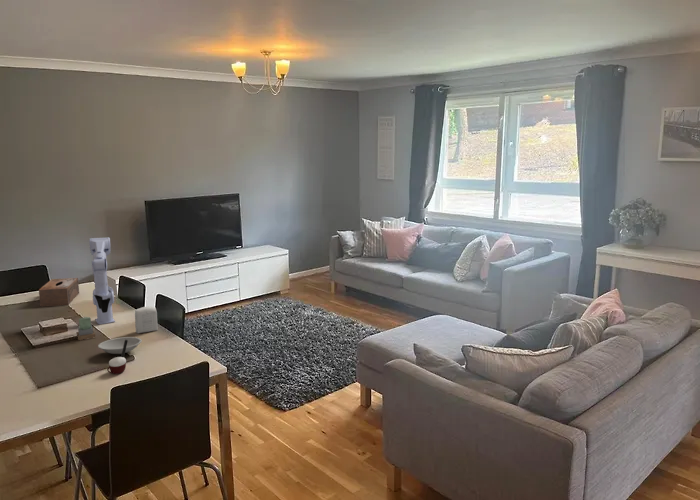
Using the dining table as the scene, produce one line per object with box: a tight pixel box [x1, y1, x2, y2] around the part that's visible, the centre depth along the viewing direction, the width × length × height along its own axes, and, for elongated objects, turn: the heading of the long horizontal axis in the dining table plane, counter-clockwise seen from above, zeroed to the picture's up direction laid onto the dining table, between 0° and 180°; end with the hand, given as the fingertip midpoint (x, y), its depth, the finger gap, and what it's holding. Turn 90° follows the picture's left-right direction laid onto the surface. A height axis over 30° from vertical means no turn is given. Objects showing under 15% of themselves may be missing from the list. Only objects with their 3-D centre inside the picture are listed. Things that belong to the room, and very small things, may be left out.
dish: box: [97, 336, 143, 355], centre depth 234 cm, size 18×14×5 cm
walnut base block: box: [76, 330, 96, 341], centre depth 254 cm, size 7×7×2 cm
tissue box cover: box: [38, 277, 80, 307], centre depth 315 cm, size 26×14×10 cm, turn 14°
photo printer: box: [134, 306, 158, 334], centre depth 262 cm, size 10×4×12 cm, turn 123°
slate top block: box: [77, 324, 94, 336], centre depth 254 cm, size 6×6×2 cm
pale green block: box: [78, 316, 92, 330], centre depth 253 cm, size 5×5×4 cm
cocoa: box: [106, 340, 128, 375], centre depth 214 cm, size 10×6×12 cm, turn 126°
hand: (103, 310), depth 261 cm, fingers open, 7 cm apart
